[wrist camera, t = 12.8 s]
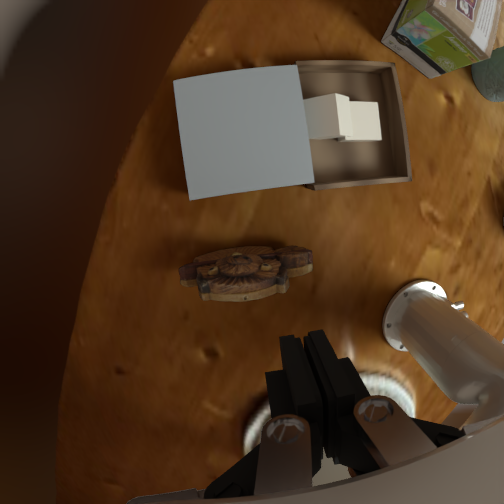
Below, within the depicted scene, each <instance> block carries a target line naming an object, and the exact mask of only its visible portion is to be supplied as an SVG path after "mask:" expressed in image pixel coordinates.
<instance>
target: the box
mask: <svg viewBox="0 0 504 504" xmlns="http://www.w3.org/2000/svg"><path fill="white" fill-rule="evenodd" d="M294 65H297V68H298V73H299V79H300V85H301V91H302V97H303V100H304V99H309V98H314V97H318V96H323V95H328V94H333V93H337V94H340V95H344V96H347V97H349V101H359V102H378V110H379V119H380V128H381V138H382V140H379V141H373V142H338V138H330V139H321V140H319V139H309V143H310V150H311V158H312V166H313V174H314V182H315V183H309V184H306V186H307V188H308V189H311V190H323V189H332V188H341V187H351V186H361V185H372V184H383V183H395V182H407V181H412V174H411V163H410V153H409V145H408V137H407V129H406V122H405V115H404V109H403V103H402V98H401V92H400V87H399V82H398V77H397V72H396V67H395V63H390V62H376V61H353V60H311V61H296V62H295V63H294Z"/></svg>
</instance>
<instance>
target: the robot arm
mask: <svg viewBox="0 0 504 504" xmlns="http://www.w3.org/2000/svg"><path fill="white" fill-rule="evenodd" d="M463 307H464V303H463V301H458V302H455V303H452V302H450V301H449V300H447V296H446V294H445V292H444V290H443V289H442V287H441V286H439V285H438V284H437V283H435V282H433V281H430V280H417V281H414V282H411V283H409V284H407V285H406V286H404V287H403V288H402V289H400V290H399V291H398V292H397V293H396V294H395V296H394V297H393V298H392V299H391V301H390V303H389V304H388V306H387V308H386V311H385V313H384V317H383V324H382V327H383V334H384V337H385V339H386V340H387V342H388V343H389V344H390V345H391V346H392V347H393V348H395V349H397V350H399V351H409V352H410V354H411V355H412V356H413V357H414V358H415V359H416V361H417V362H418V363H419V364H420V365H421V366H422V368H423V369H424V370H425V371H426V372H427V373H428V375H429V376H430V377H431V378H432V379H433V381H434V382H435V383H436V384H437V385H438V386H439V388H440V389H441V390H442V391H443V392H444V394H445V395H446V396H447V397H448V398H449V399H451V400H452V401H454V402H457V403H460V404H479V405H478V406H477V408H476V409H475V410H474V411H473V413H472V414H471V416H470V417H469V418H468V419H467V420H466V422H465V423H464V424H463V425H462V426H461V427H460V428H459V429H457V428H454V427H451V426H446V425H442V424H437V423H433V422H428V421H424V420H420V419H416V418H411V417H409V416H408V415H407V414H406V413H405V412H404V411H403V410H402V409H401V407H400V406H399V405H398V404H397V403H396V402H395V401H394V400H392V399H391V398H388V397H386V396H380V395H375V396H370V394H369V392H368V390H367V388H366V387H365V385H364V383H363V381H362V379H361V378H360V376H359V374H358V372H357V371H356V369H355V367H354V365H353V364H352V362H351V360H350V359H349V358H348V357H346V358H342V359H338V358H337V356H336V354H335V352H334V350H333V348H332V346H331V344H330V343H329V341H328V339H327V337H326V335H325V333H324V331H323V330H317V331H311V332H308V336H304V338H303V339H304V348H303V345H302V342H301V339H300V337H298V338H295V337H294V335H288V336H282V337H279V339H280V348H281V356H282V365H283V370H277V371H271V372H265V376H266V383H267V390H268V397H269V404H270V410H271V417H272V419H270V420H269V421H267V422H266V423H265V425H264V426H263V428H262V431H261V440H260V444H258V445H257V446H256V447H255V448H254V449H253V450H252V451H250V452H249V453H248V454H247V455H246V456H244V457H243V458H242V459H241V460H240V461H238V462H237V463H236V464H235V465H234V466H232V467H231V468H230V469H229V470H227V471H226V472H225V473H224V474H222V475H221V476H220V477H218V478H217V479H216V480H215V481H213V482H212V483H211V484H210V485H209V486H208V487H207V488H206V489H203V490H198V491H197V490H196V488H194V489H188V490H183V491H177V492H171V493H164V494H157V495H149V496H141V497H137V498H133V499H132V500H130V501H128V502H127V504H504V344H502V343H501V342H500V341H498V340H497V339H496V338H494V337H493V336H492V335H490V334H489V333H488V332H486V331H485V330H484V329H482V328H481V327H480V326H478V325H477V324H476V323H474V322H473V321H472V320H470V319H469V318H468V315H467V313H466V311H462V312H460V311H458V310H460V309H463ZM323 447H324V450H325V453H326V457H327V458H330V457H332V458H333V461H334V464H342V465H344V466H347V467H348V471H349V474H350V476H351V477H352V478H348V479H344V480H341V481H336V482H332V483H328V484H323V485H318V486H314V487H312V478H313V476H314V475H315V474H316V473H317V472H318V471H319V470H320V468H321V459H323Z"/></svg>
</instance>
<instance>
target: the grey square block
mask: <svg viewBox="0 0 504 504" xmlns="http://www.w3.org/2000/svg"><path fill="white" fill-rule="evenodd" d="M173 83H174V92H175V100H176V108H177V116H178V124H179V132H180V139H181V146H182V153H183V160H184V167H185V173H186V180H187V186H188V193H189V199H190V200H195V199H201V198H207V197H213V196H219V195H226V194H233V193H239V192H246V191H253V190H261V189H268V188H276V187H284V186H292V185H300V184H309V183H315V182H314V174H313V166H312V158H311V150H310V143H309V136H308V129H307V122H306V116H305V109H304V103H303V97H302V91H301V85H300V79H299V73H298V68H297V65H284V66H270V67H259V68H250V69H241V70H233V71H226V72H219V73H212V74H206V75H200V76H194V77H189V78H184V79H179V80H174V81H173Z"/></svg>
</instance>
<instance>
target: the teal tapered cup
mask: <svg viewBox="0 0 504 504" xmlns="http://www.w3.org/2000/svg"><path fill="white" fill-rule="evenodd" d="M471 70H472V77H473V80H474V83H475V85H476V87H477V89H478V90H479V92H480V93H481V94H482V95H483V96H484V97H485V98H486V99H488V100H490V101H493V102H502V101H504V46H503V47H501V48H497V49H495V50H492V53H491V56H490V58H488V59H485V60H483V61H480V62H477V63H473V64H472V68H471Z"/></svg>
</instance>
